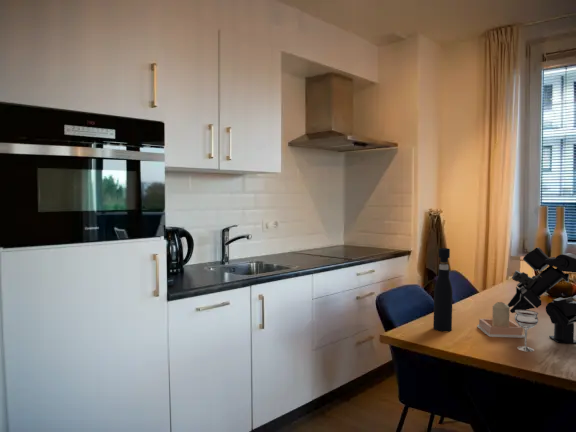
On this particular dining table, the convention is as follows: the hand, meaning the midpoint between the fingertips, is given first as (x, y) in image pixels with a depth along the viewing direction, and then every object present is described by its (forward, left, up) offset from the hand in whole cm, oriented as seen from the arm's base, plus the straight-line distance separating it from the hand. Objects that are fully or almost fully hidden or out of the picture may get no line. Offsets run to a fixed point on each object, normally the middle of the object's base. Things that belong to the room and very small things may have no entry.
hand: (509, 309), depth 159 cm
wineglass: (-17, +2, -9) cm, 19 cm away
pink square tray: (+1, +3, -9) cm, 9 cm away
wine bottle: (+3, +23, -9) cm, 25 cm away
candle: (+1, +2, -8) cm, 9 cm away
